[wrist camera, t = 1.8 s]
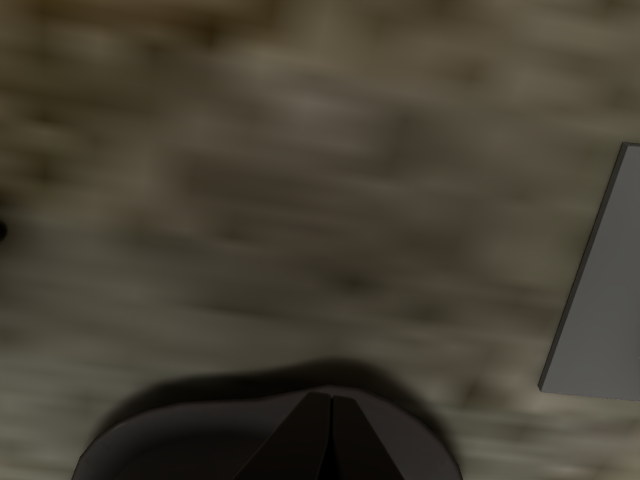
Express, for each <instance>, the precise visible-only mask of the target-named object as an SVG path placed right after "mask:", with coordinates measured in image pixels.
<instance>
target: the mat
mask: <svg viewBox="0 0 640 480" xmlns="http://www.w3.org/2000/svg"><path fill="white" fill-rule="evenodd" d="M538 387H539V389H540V391H541V392H546V393H557V394H567V395H578V396H589V397H599V398H610V399H621V400H631V401H640V144H634V143H623V145H622V147H621V150H620V153H619V156H618V159H617V162H616V165H615V167H614V170H613V173H612V176H611V179H610V182H609V185H608V187H607V190H606V193H605V196H604V199H603V202H602V205H601V208H600V210H599V213H598V216H597V219H596V222H595V225H594V228H593V230H592V233H591V236H590V239H589V242H588V245H587V248H586V250H585V253H584V256H583V259H582V262H581V265H580V268H579V270H578V273H577V276H576V279H575V282H574V285H573V288H572V290H571V293H570V296H569V299H568V302H567V305H566V308H565V310H564V313H563V316H562V319H561V322H560V325H559V328H558V330H557V333H556V336H555V339H554V342H553V345H552V348H551V351H550V353H549V356H548V359H547V362H546V365H545V368H544V371H543V373H542V376H541V379H540V382H539V385H538Z"/></svg>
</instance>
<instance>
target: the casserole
mask: <svg viewBox="0 0 640 480" xmlns="http://www.w3.org/2000/svg"><path fill="white" fill-rule="evenodd" d="M309 391H316V392H322V393H328V394H330V395H331V399H332V397H333V396H334V395H339V396H345V397H351V398H354V399H355V400H356V401H357V402H358V404H359V406H360V407H361V409H362V410H363V412H364V414H365V415H366V417H367V419H368V420H369V422H370V423H371V425H372V427H373V428H374V430H375V431H376V433H377V435H378V436H379V438H380V440H381V441H382V443H383V444H384V446H385V448H386V449H387V451H388V453H389V454H390V456H391V457H392V459H393V461H394V462H395V464H396V465H397V467H398V469H399V470H400V472H401V474H402V475H403V477H404V478H405V480H463V478H462V475H461V472H460V469H459V466H458V464H457V462H456V461H455V459H454V458H453V456H452V455H451V453H450V452H449V450H448V448H447V447H446V445H445V444H444V442H443V441H442V440H441V439H440V438H439V437H438V436H437V435H436V434H435V433H434V432H433V431H432V430H431V429H430V428H429V427H427V426H426V425H425V424H424V423H423V422H422V421H421V420H420V419H419V418H417V417H416V416H414V415H413V414H411V413H410V412H408V411H407V410H405V409H404V408H402V407H400V406H399V405H397V404H396V403H394V402H393V401H391V400H389V399H387V398H384V397H382V396H379V395H377V394H374V393H372V392H369V391H367V390H365V389H362V388H356V387H348V386H340V385H332V384H326V385H321V386H316V387H311V388H306V389H301V390H296V391H290V392H285V393H280V394H275V395H270V396H265V397H260V398H248V399H226V400H206V401H186V402H178V403H173V404H169V405H164V406H160V407H155V408H151V409H147V410H144V411H142V412H140V413H137V414H135V415H133V416H130V417H128V418H126V419H123V420H121V421H119V422H117V423H115V424H114V425H113V426H111V427H110V428H109V429H107V430H106V431H104V432H103V433H102V434H100V435H99V436H98V437H96V438H95V439H94V440H93V442H92V443H91V444H90V445H89V447H88V448H87V449H86V450H85V452H84V453H83V454H82V455H81V456H80V458H79V461H78V464H77V466H76V469H75V472H74V474H73V477H72V480H231V479H232V478H233V477H234V476H235V475H236V474H237V473H238V471H239V470H240V469H241V468H242V467H243V466H244V465H245V463H246V462H247V461H248V460H249V459H250V458H251V457H252V455H253V454H254V453H255V452H256V451H257V450H258V449H259V447H260V446H261V445H262V444H263V443H264V442H265V441H266V439H267V438H268V437H269V436H270V435H271V434H272V433H273V431H274V430H275V429H276V428H277V427H278V426H279V425H280V423H281V422H282V421H283V420H284V419H285V418H286V417H287V415H288V414H289V413H290V412H291V411H292V410H293V408H294V407H295V406H296V405H297V404H298V403H299V402H300V400H301V399H302V398H303V397H304V396H305V395H306V394H307V393H308V392H309Z"/></svg>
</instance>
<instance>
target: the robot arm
mask: <svg viewBox="0 0 640 480" xmlns="http://www.w3.org/2000/svg"><path fill="white" fill-rule="evenodd" d="M4 237H5V230H4V228H3V227H2V226H1V225H0V242H1V241H2V240H3V239H4ZM231 480H405V478H404V477H403V475H402V474H401V472H400V470H399V469H398V467H397V465H396V464H395V462H394V461H393V459H392V457H391V456H390V454H389V453H388V451H387V449H386V448H385V446H384V444H383V443H382V441H381V440H380V438H379V436H378V435H377V433H376V431H375V430H374V428H373V427H372V425H371V423H370V422H369V420H368V419H367V417H366V415H365V414H364V412H363V410H362V409H361V407H360V406H359V404H358V402H357V401H356V400H355V399H354V398H351V397H345V396H339V395H334V396H333V397H332V399H331V395H330V394H328V393H322V392H316V391H309V392H308V393H307V394H306V395H305V396H304V397H303V398H302V399H301V400H300V402H299V403H298V404H297V405H296V406H295V407H294V408H293V410H292V411H291V412H290V413H289V414H288V415H287V417H286V418H285V419H284V420H283V421H282V422H281V423H280V425H279V426H278V427H277V428H276V429H275V430H274V431H273V433H272V434H271V435H270V436H269V437H268V438H267V439H266V441H265V442H264V443H263V444H262V445H261V446H260V447H259V449H258V450H257V451H256V452H255V453H254V454H253V455H252V457H251V458H250V459H249V460H248V461H247V462H246V463H245V465H244V466H243V467H242V468H241V469H240V470H239V471H238V473H237V474H236V475H235V476H234V477H233V478H232V479H231Z"/></svg>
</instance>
